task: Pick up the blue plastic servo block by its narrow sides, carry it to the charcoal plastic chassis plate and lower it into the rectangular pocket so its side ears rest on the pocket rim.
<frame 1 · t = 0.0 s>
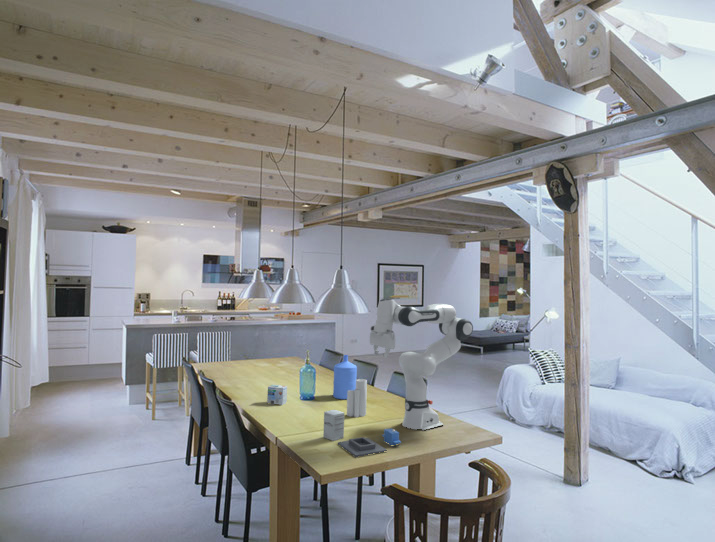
hand: (380, 355, 233), 39 cm above the table, tool pointing down, fingers open, 8 cm apart
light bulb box: (276, 403, 282), on the table
water jug: (344, 397, 303), on the table
supplement box: (333, 438, 220), on the table
chassis plate: (361, 448, 206), on the table
servo block: (391, 443, 214), on the table
white cylinder cluster: (356, 415, 260), on the table
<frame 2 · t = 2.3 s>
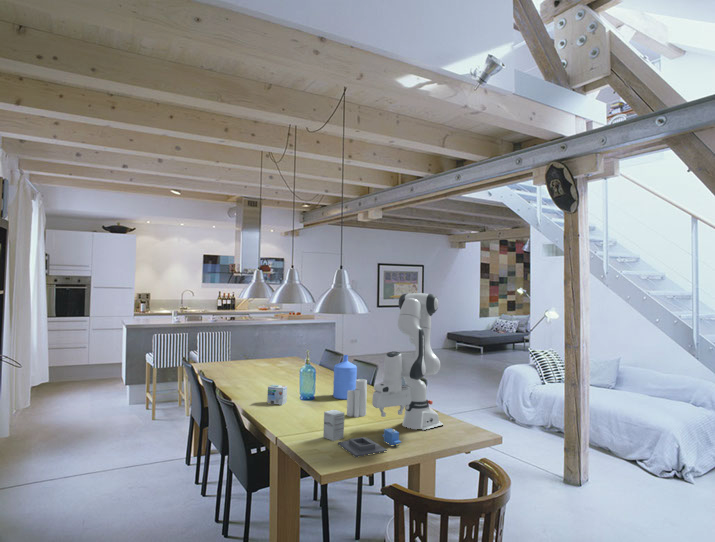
hand: (391, 415, 214), 13 cm above the table, tool pointing down, fingers open, 8 cm apart
nothing on the table moved.
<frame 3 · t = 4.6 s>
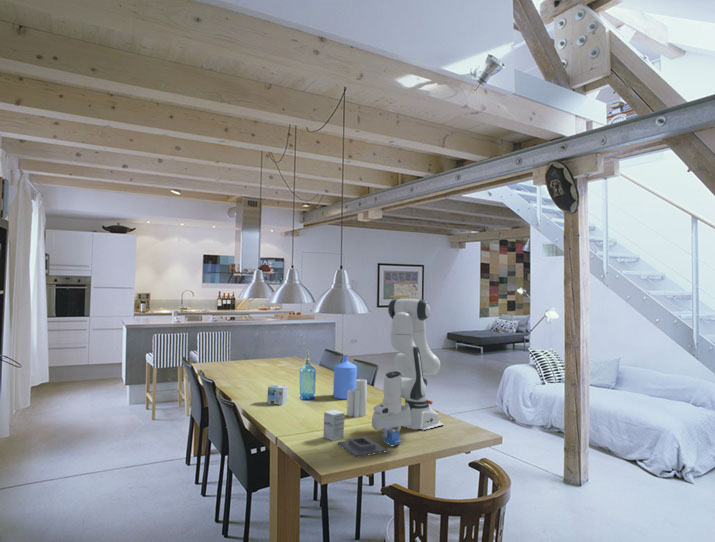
hand: (391, 436, 214), 3 cm above the table, tool pointing down, fingers closed on servo block, 4 cm apart
servo block: (391, 443, 214), on the table, touching gripper
everything else where it was.
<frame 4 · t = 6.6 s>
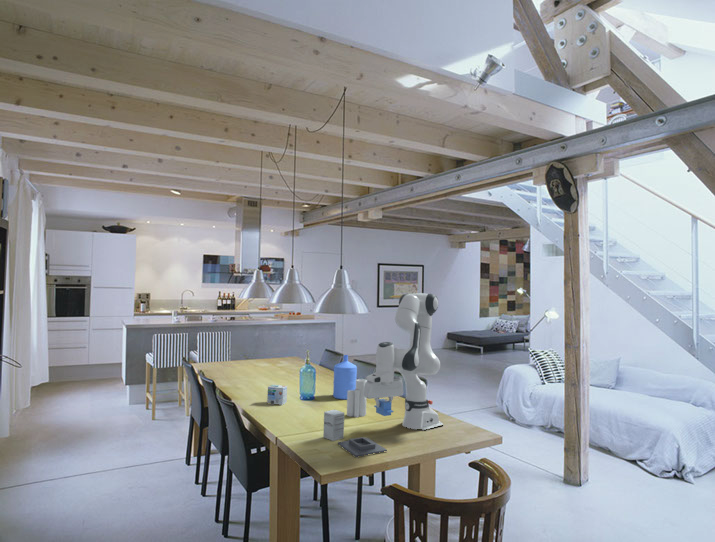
hand: (383, 406, 212), 18 cm above the table, tool pointing down, fingers closed on servo block, 4 cm apart
servo block: (383, 413, 212), point 15 cm above the table, touching gripper
everything else where it was.
when the fingers open (6 cm above the table, at t = 9.1 s): servo block drops 2 cm, resting on chassis plate.
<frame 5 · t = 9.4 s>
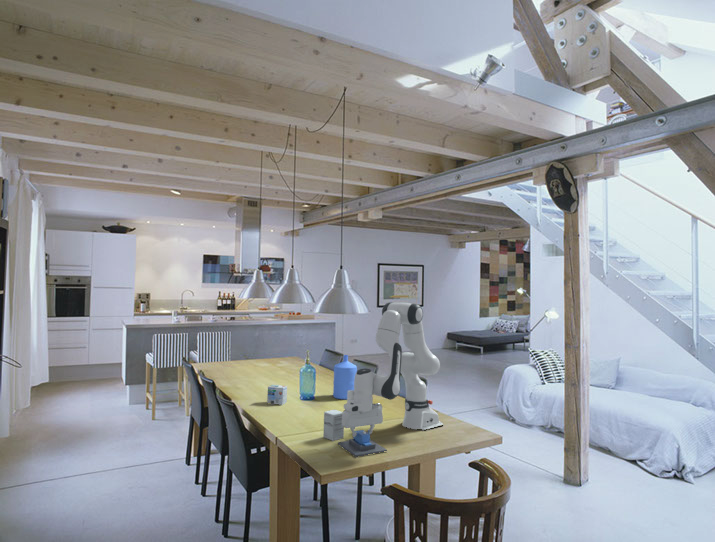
hand: (362, 435, 207), 6 cm above the table, tool pointing down, fingers open, 7 cm apart
servo block: (362, 445, 207), point 1 cm above the table, touching chassis plate
everything else where it was.
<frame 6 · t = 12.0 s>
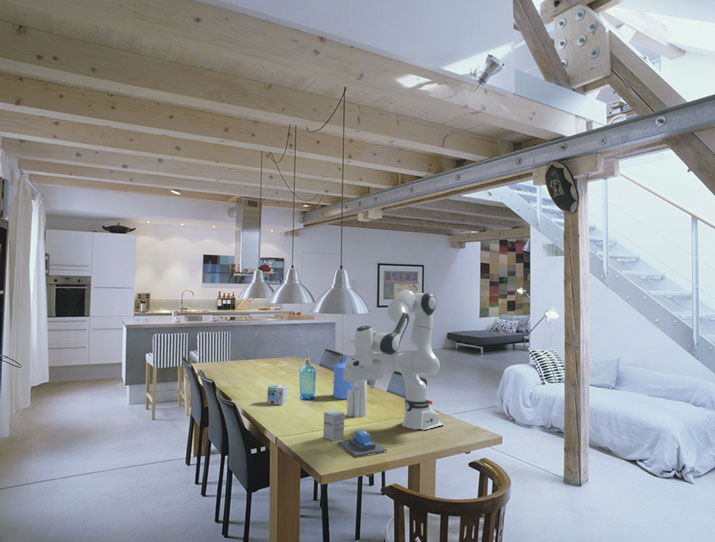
hand: (363, 389, 214), 25 cm above the table, tool pointing down, fingers open, 8 cm apart
nothing on the table moved.
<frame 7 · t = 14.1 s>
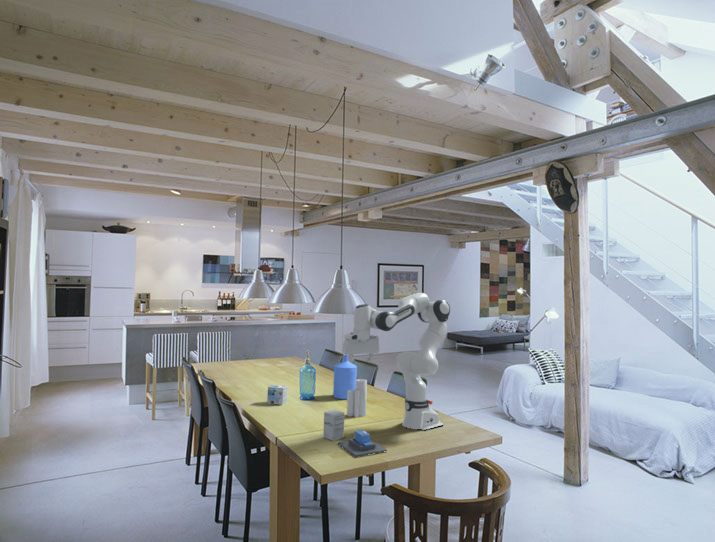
hand: (360, 362, 233), 35 cm above the table, tool pointing down, fingers open, 8 cm apart
nothing on the table moved.
at the end: servo block 0.1 cm off-centre on the chassis plate, point 1.0 cm above the chassis plate's base; servo block tilted 0°; the gripper is holding nothing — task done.
